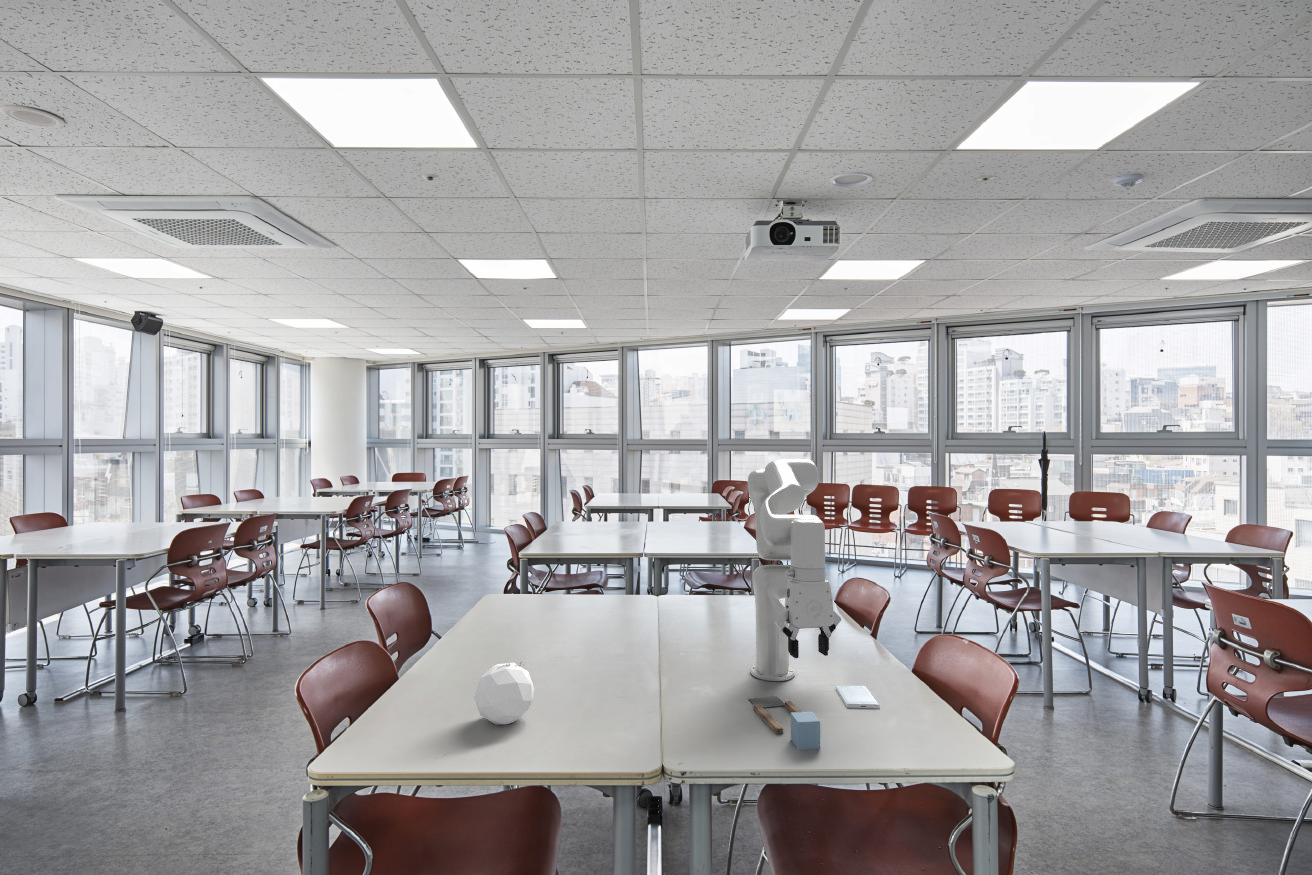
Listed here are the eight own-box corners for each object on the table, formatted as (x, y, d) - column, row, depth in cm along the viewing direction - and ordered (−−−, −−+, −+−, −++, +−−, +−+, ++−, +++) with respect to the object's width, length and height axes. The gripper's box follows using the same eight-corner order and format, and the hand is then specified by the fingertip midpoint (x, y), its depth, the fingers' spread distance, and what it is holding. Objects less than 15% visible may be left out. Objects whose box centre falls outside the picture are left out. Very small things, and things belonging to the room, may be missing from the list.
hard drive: (835, 685, 168) (846, 703, 156) (865, 685, 168) (879, 703, 155) (835, 691, 168) (846, 709, 156) (866, 691, 168) (879, 710, 155)
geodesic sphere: (522, 676, 161) (494, 640, 155) (558, 689, 152) (530, 652, 146) (483, 727, 152) (452, 691, 145) (519, 744, 143) (488, 706, 136)
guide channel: (744, 700, 160) (744, 695, 160) (780, 696, 163) (780, 691, 163) (777, 733, 141) (777, 728, 141) (816, 729, 143) (816, 724, 143)
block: (790, 739, 139) (790, 712, 139) (812, 738, 139) (812, 711, 139) (798, 749, 134) (797, 721, 134) (820, 748, 134) (820, 721, 134)
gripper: (779, 579, 132) (779, 663, 131) (851, 575, 136) (852, 657, 135) (765, 572, 139) (765, 652, 138) (834, 569, 143) (835, 647, 142)
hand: (808, 654), depth 137 cm, fingers open, 6 cm apart
